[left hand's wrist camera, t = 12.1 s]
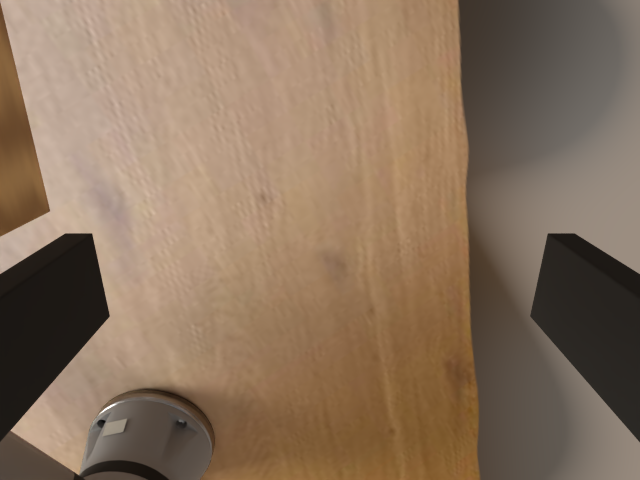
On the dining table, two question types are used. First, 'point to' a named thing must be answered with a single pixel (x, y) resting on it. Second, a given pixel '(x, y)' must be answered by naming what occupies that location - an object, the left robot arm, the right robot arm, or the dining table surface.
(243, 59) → the dining table surface
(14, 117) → the bar
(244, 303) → the dining table surface
